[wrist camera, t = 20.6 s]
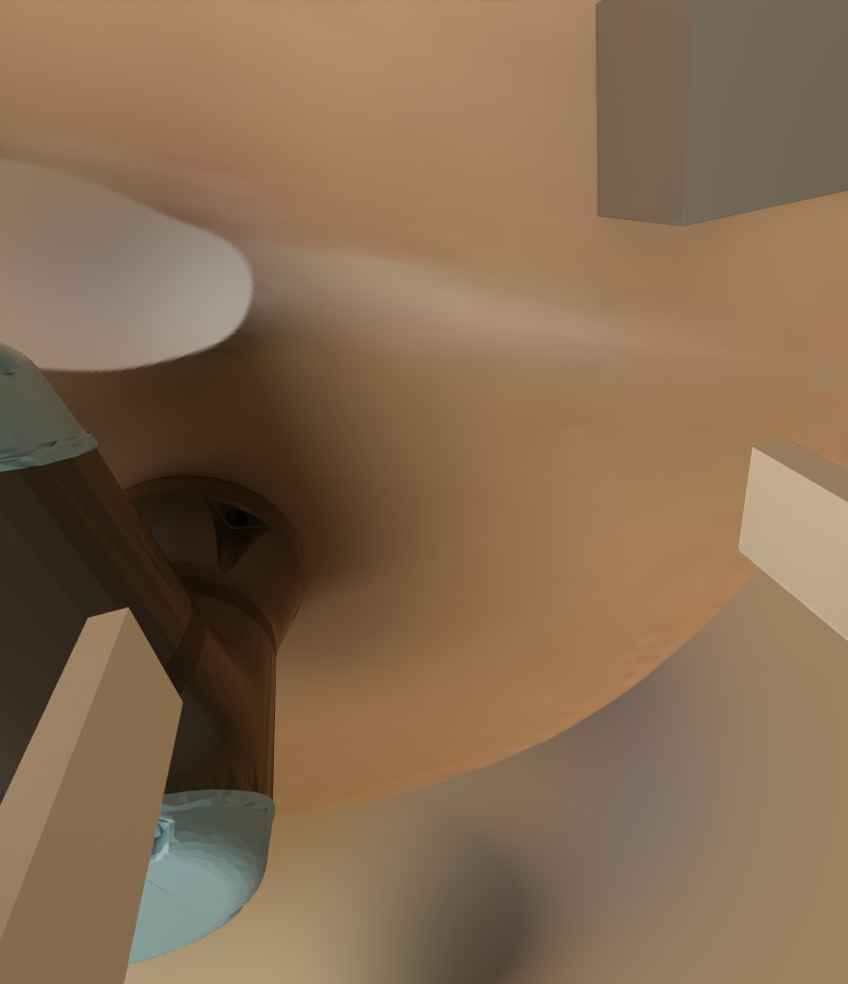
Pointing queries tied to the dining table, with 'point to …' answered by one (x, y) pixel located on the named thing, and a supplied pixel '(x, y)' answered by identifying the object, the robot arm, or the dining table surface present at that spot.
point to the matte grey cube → (719, 106)
